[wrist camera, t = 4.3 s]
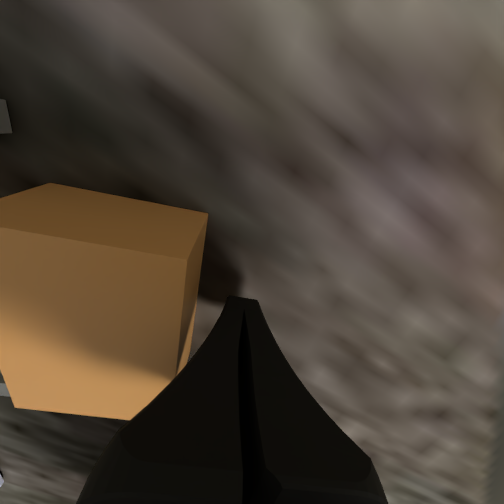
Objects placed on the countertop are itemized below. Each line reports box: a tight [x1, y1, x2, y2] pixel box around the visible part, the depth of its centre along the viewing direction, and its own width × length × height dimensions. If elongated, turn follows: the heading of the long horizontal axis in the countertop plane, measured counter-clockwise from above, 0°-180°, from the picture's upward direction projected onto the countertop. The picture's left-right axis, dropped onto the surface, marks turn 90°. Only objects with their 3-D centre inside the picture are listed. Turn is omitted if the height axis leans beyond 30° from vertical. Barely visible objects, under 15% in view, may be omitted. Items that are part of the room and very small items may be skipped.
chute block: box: [0, 183, 208, 420], centre depth 10 cm, size 6×8×4 cm
